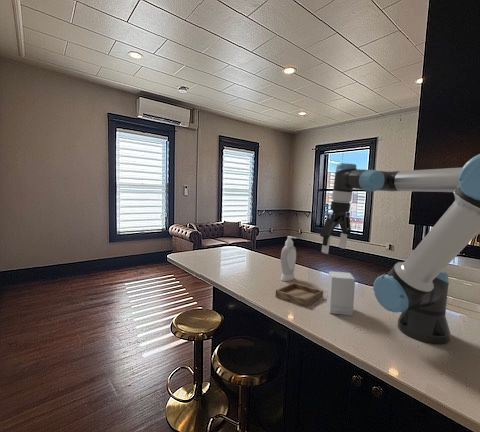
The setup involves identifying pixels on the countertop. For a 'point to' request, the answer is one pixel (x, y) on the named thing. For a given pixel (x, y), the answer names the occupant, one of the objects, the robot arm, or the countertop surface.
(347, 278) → the supplement box
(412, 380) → the countertop surface
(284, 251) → the soap bottle
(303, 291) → the tray
